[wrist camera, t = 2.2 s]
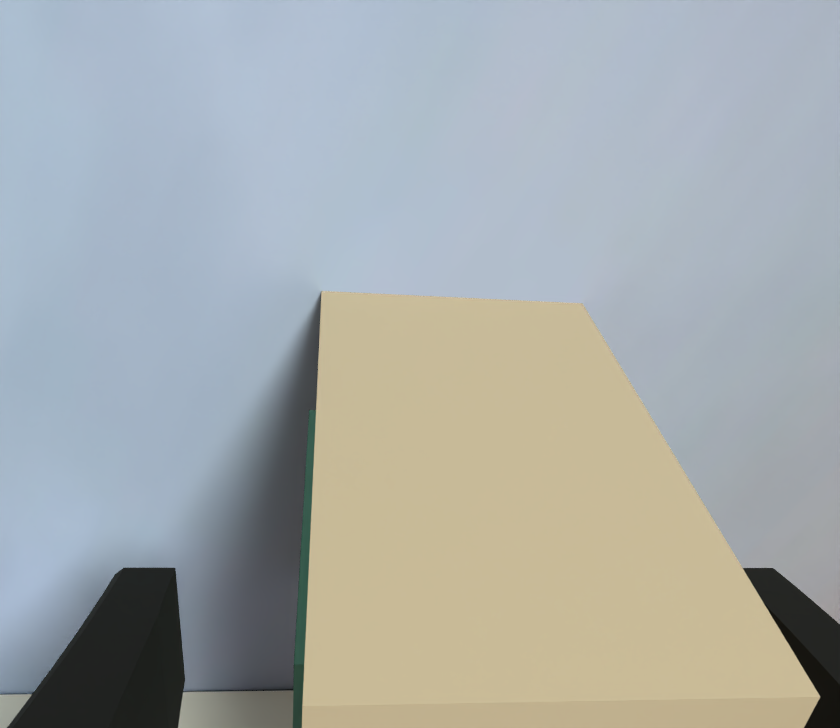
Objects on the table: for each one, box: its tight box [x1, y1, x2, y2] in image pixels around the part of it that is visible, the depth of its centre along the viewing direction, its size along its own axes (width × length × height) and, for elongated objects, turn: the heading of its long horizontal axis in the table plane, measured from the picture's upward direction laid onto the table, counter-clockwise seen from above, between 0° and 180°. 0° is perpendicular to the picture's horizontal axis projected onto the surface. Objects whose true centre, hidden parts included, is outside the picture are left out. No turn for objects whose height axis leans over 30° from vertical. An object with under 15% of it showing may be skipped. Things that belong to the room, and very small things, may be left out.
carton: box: [293, 291, 820, 728], centre depth 10 cm, size 4×6×7 cm
